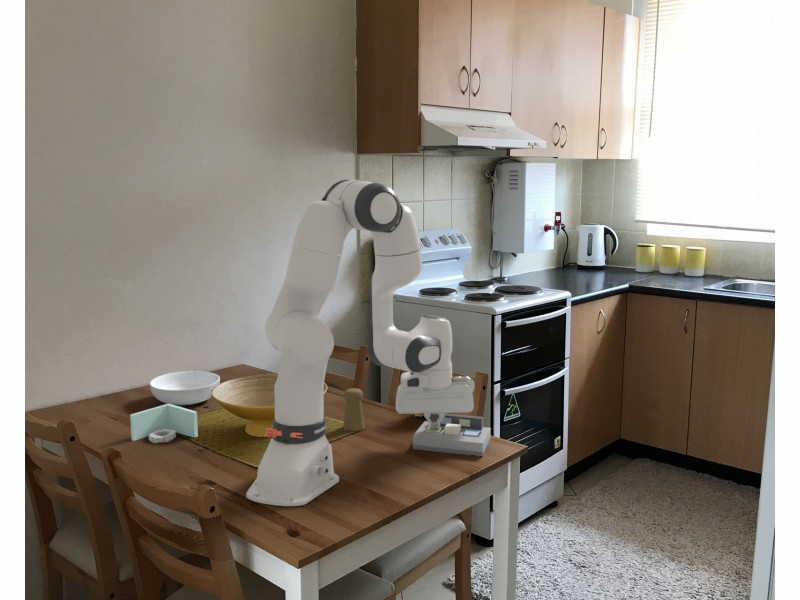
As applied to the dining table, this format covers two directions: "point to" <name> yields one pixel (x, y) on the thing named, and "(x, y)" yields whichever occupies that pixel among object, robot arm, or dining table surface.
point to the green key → (434, 430)
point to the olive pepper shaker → (353, 410)
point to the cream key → (452, 429)
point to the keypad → (453, 436)
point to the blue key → (471, 433)
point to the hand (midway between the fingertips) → (434, 428)
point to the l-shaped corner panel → (163, 423)
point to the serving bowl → (184, 387)
